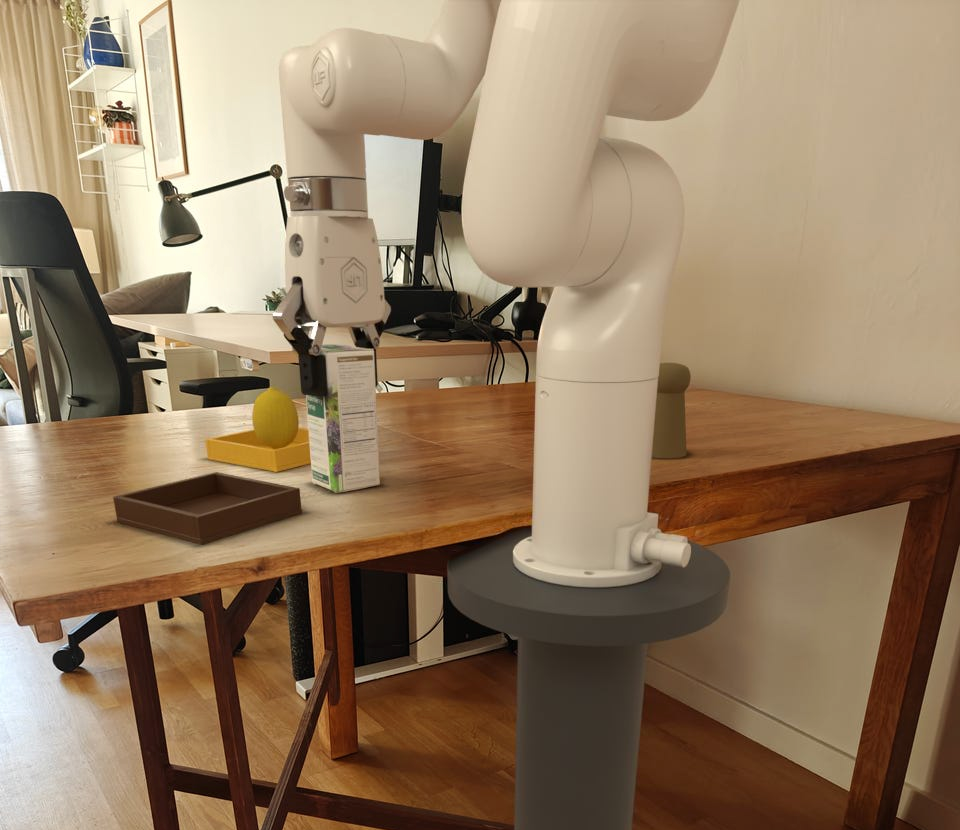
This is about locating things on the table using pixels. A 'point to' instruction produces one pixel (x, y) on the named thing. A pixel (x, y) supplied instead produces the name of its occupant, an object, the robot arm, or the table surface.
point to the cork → (670, 411)
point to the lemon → (275, 418)
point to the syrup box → (345, 421)
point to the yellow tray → (259, 451)
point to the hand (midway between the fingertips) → (340, 389)
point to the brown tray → (207, 506)
